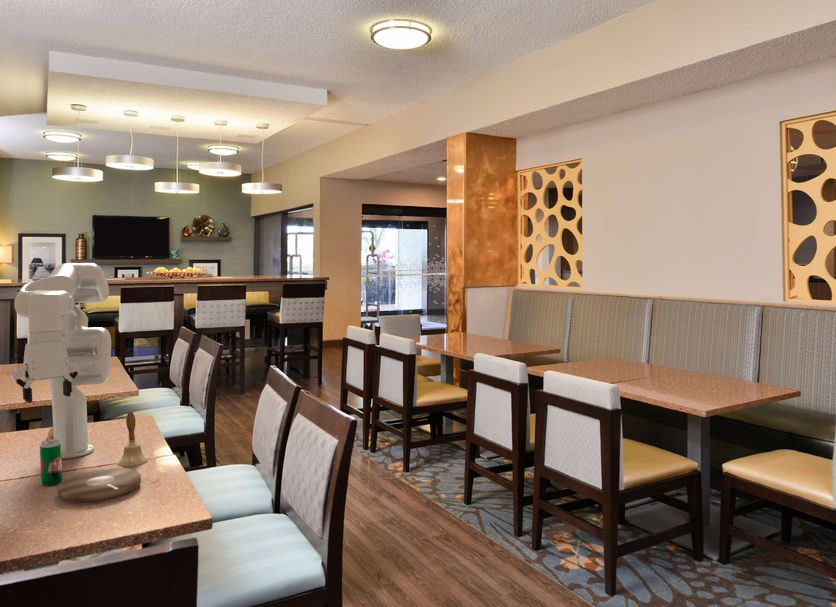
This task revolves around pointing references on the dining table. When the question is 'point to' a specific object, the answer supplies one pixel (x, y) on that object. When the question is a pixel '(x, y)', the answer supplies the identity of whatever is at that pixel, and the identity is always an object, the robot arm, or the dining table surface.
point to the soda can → (50, 462)
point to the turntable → (99, 484)
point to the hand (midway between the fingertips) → (48, 398)
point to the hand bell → (132, 446)
